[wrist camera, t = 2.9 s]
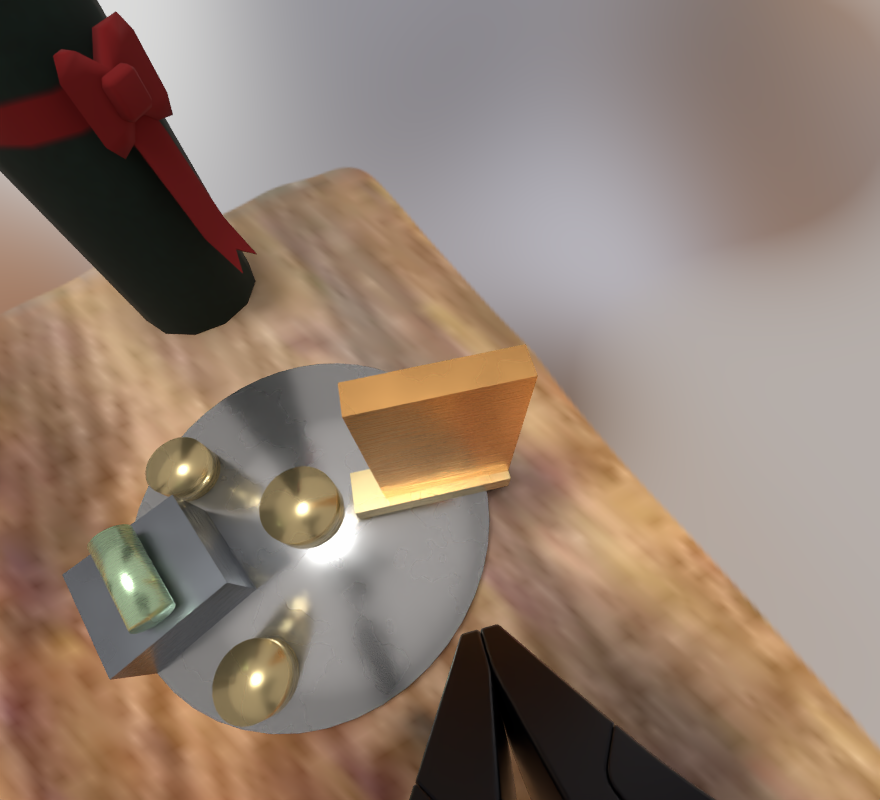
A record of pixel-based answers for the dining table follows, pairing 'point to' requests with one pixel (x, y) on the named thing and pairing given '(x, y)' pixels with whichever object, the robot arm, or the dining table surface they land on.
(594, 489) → the dining table surface
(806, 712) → the dining table surface
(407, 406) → the lever
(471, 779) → the robot arm
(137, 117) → the wine bottle
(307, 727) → the levelling plate
